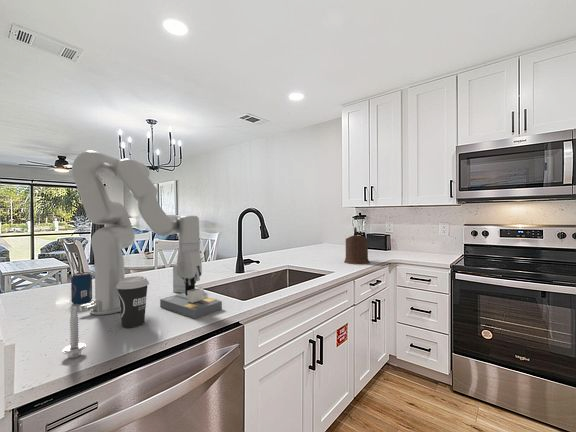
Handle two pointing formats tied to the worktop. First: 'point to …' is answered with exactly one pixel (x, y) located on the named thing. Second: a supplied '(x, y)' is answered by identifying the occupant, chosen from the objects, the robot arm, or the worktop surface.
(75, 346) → the screw
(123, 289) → the coffee cup
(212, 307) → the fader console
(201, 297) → the fader knob
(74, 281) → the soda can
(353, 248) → the dark brown bell
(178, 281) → the supplement box
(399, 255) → the worktop surface
